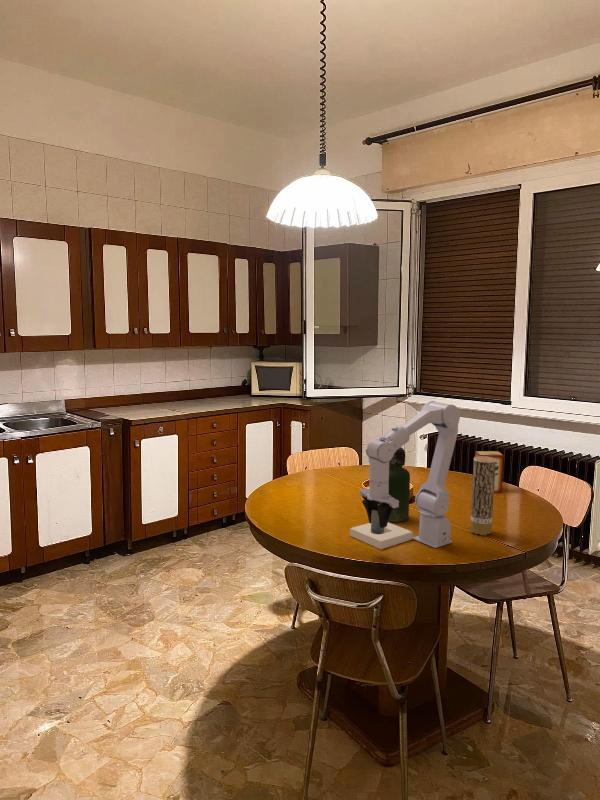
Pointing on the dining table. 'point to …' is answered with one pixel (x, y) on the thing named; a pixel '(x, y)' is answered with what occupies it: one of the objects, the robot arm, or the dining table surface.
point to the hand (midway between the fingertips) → (378, 524)
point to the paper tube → (482, 495)
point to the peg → (375, 522)
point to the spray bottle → (399, 486)
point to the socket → (381, 535)
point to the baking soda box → (498, 467)
